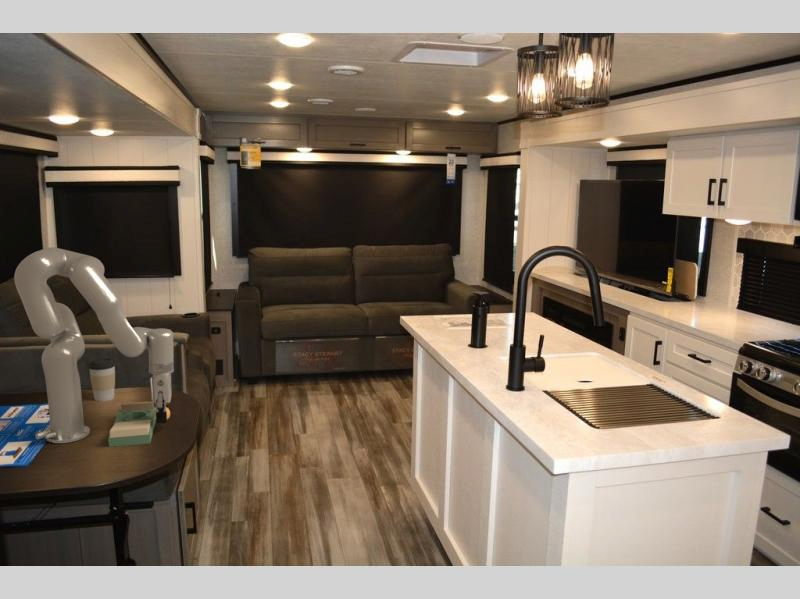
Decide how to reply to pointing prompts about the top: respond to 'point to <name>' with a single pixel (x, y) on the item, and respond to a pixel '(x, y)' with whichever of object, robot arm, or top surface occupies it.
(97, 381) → the coffee cup
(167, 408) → the ball
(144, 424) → the putting mat
